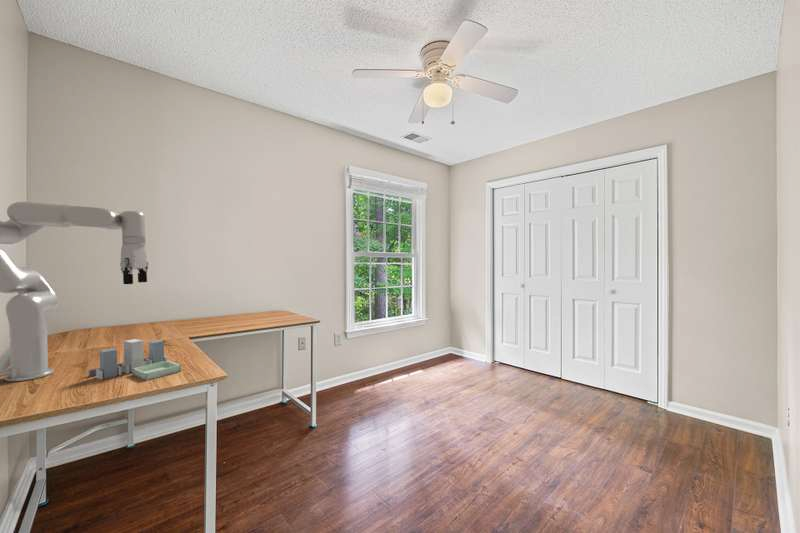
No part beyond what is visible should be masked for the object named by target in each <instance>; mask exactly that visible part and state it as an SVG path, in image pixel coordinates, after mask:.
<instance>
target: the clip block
mask: <svg viewBox="0 0 800 533" xmlns="http://www.w3.org/2000/svg"><path fill="white" fill-rule="evenodd" d="M164 361H168V356H166V355H164ZM150 364H152V360H150V359H149V356H148V357H144V366H146V365H150ZM122 373H124V374H130V372H129V365H127V364H124V362H121V363H117V376H121V375H122ZM88 377H89V378H91V377H95V378H96V379H98V380H100V381H101V380H103V379H104V378H103V371H102V370H100V367H96V368H92V369H88Z"/></svg>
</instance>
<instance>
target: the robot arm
mask: <svg viewBox="0 0 800 533" xmlns="http://www.w3.org/2000/svg"><path fill="white" fill-rule="evenodd" d="M6 214H7V216H8V218H9V219H8V220H6V221H2V220H1V221H0V245H13V244H17V243H19V242H22V241H23V240H25V239H28V238H29V237H30V236H33V235H34V234H35V233H37V232H39V231H40V230H41V229H43V228H45V227H54V228H55V227H58V228H60V227H61V228H69V227H89V228H91V227H92V228H99V229H100V228H101V229H106V230H107V229H108V230H116V231H117V230H121V237H122V238H121V240H122V242H121V243H122V245H121V248H120V249H121V250H120V263H119V266H120V270H121V273H122V275H123V276H122V278H123V279H122V281H123V284H124V285H133V284H134V274H133V272H134V270H137V282H138V283H147V282H148V269H149V262H148V259H147V251H146V250H147V249H146V227H145V226H146V224H145V222H146V221H145V214H144V213H143V212H141V211H135V210H125V211H122V212H120V211H115V210H111V209H108V208H102V207H93V206H81V205H68V204H67V205H66V204H56V203H54V204H53V203H45V202H44V203H43V202H41V203H40V202H29V201H17V202H16V201H15V202H13V203H11V204H10V205H9V206H7V209H6ZM0 293H2V294H15V293H17V295H15V296H13V297H11V298H10V299H9V300H8V301H7V303H6V306H5V313H6V317H7V320H8V321H7V322H8V325H9V326H8V327H9V339H10V340H9V343H10V348H9V349H10V350H9V351H10V365H8V367H6V368H4V370H3V369H1V370H0V377H4V381H6V382H21V381H30V380H34V379H39V378H43V377H47V376H49V375H51V374H53V373H54V368H53V367H49V358H48V357H49V356H48V354H49V353H48V350H49V349H48V347H49V346H48V325H47V322H46V319H45V315H47V314H50V313H53V312H54V311H55V310H56V309H57V308H58V306H59V303H60V301H59V298H58V295H57V293H55V291H54V290H53V288H52V287H51V286H50V285H49V283H48V281H46V278H44V277H43V275H42V274H40V273H39V272H38V271H37V270H35V269H33V268H30V267H23V266H22V267H20V266H19V265H17V264H16V263H15V262H14V260H12V257H11V255H9V254H8V253H7V252H6V251H5V250H3V249H2V248H1V247H0Z"/></svg>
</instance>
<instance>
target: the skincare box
mask: <svg viewBox="0 0 800 533" xmlns="http://www.w3.org/2000/svg"><path fill="white" fill-rule="evenodd" d="M144 358H145V357H144V340H143V339H136V338H132V339H128V340H123V363H124V364H127V365H129V373H132V374H133V368H137V367H141V366H144Z"/></svg>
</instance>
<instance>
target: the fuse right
mask: <svg viewBox="0 0 800 533" xmlns="http://www.w3.org/2000/svg"><path fill="white" fill-rule="evenodd" d="M164 356H165V340H162V339H157V340H152V341H150V340H149V341H148V357H149V359H150V360H152V364H154V363H159V362H163V361H164Z"/></svg>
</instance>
